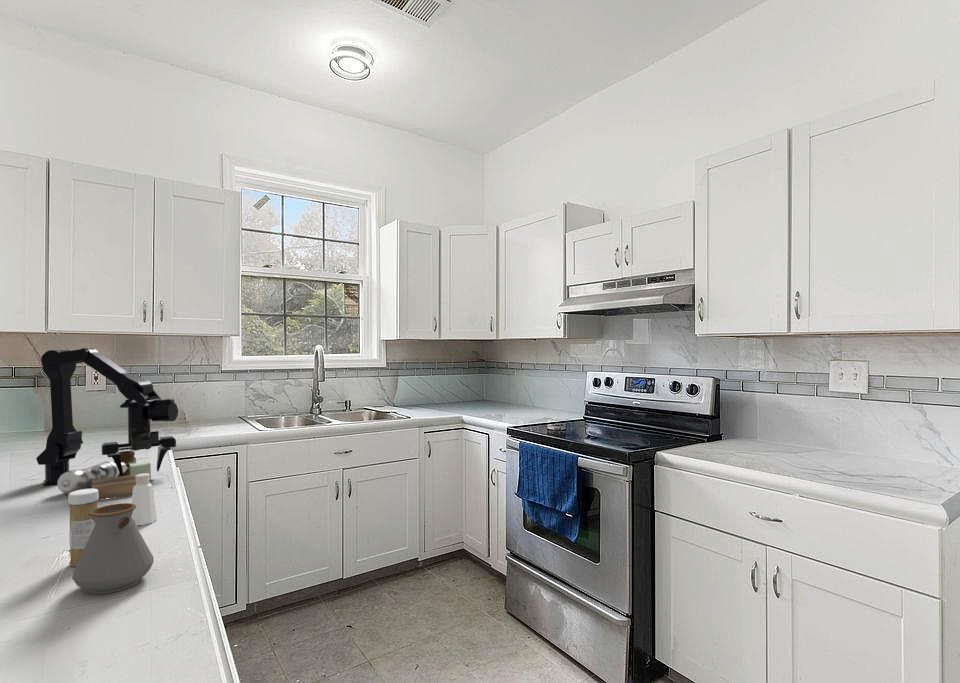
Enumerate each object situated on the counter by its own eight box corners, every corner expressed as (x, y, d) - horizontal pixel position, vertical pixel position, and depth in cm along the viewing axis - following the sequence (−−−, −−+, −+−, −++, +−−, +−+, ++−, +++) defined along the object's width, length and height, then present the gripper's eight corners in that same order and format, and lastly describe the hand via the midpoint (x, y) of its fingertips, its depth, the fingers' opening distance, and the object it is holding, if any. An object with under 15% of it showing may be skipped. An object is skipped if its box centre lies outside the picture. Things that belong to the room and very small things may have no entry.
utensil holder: (109, 475, 167) (108, 437, 167) (129, 471, 173) (128, 434, 173) (121, 477, 165) (121, 438, 165) (141, 472, 171) (141, 435, 171)
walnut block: (92, 494, 148) (92, 480, 148) (135, 488, 154) (134, 474, 154) (91, 503, 140) (91, 487, 140) (137, 496, 145) (137, 481, 145)
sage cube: (129, 480, 162) (129, 463, 162) (149, 477, 165) (148, 461, 165) (131, 483, 158) (130, 466, 158) (150, 480, 161) (150, 464, 161)
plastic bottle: (74, 471, 145) (130, 456, 165) (52, 473, 145) (110, 457, 165) (76, 495, 145) (132, 477, 164) (53, 496, 145) (111, 478, 165)
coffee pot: (70, 582, 92) (68, 495, 92) (147, 563, 99) (146, 483, 99) (79, 633, 75) (78, 527, 75) (171, 606, 83) (170, 509, 83)
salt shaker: (162, 519, 124) (161, 472, 124) (141, 527, 119) (140, 478, 119) (145, 517, 126) (144, 470, 126) (123, 524, 121) (122, 476, 121)
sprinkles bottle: (79, 558, 102) (78, 488, 102) (104, 557, 103) (103, 487, 103) (63, 568, 98) (62, 495, 98) (89, 567, 98) (88, 494, 98)
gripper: (102, 428, 149) (103, 484, 149) (178, 421, 160) (179, 473, 160) (101, 424, 158) (101, 476, 158) (173, 417, 169) (173, 467, 169)
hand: (140, 473), depth 161 cm, fingers open, 9 cm apart
